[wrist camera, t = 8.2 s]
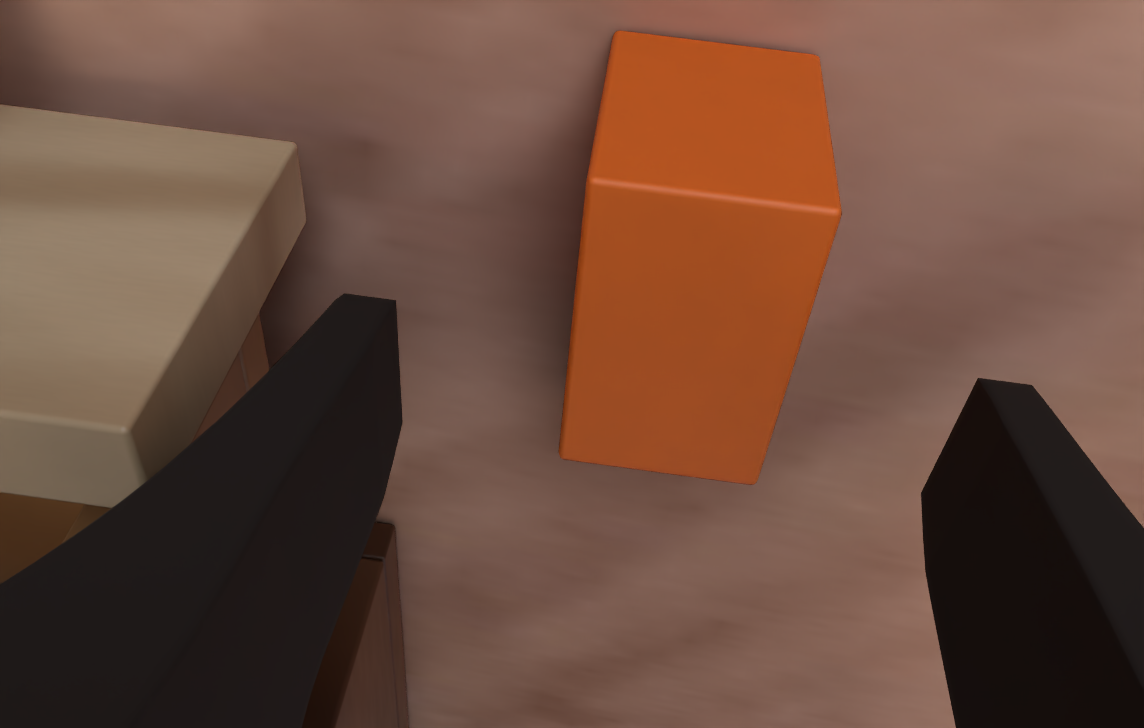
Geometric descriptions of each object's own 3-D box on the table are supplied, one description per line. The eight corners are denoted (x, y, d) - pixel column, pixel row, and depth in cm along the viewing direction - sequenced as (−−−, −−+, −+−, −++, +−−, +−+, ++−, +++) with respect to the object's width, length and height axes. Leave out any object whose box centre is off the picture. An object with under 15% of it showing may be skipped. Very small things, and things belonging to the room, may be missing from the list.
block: (614, 26, 12) (586, 178, 9) (820, 53, 12) (844, 211, 9) (572, 400, 16) (546, 568, 14) (724, 420, 16) (723, 592, 14)
